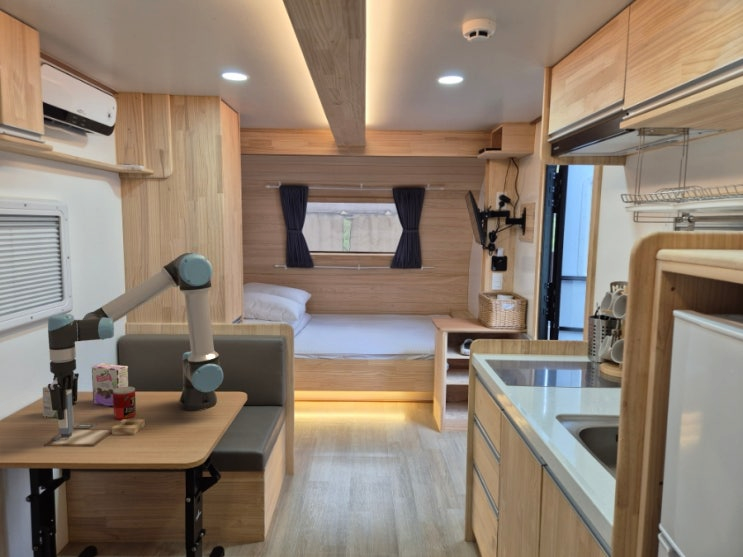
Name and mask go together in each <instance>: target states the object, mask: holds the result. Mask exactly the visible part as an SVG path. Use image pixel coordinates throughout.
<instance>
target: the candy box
mask: <svg viewBox="0 0 743 557" xmlns="http://www.w3.org/2000/svg"><path fill="white" fill-rule="evenodd" d="M128 368H129V366H128V365H119V364H112V363H104V362H101V363H97V364H96V365H92V366H91V379H92V380H91V382H92V403H93V404H94V405H100V406H104V407H105V406H106V407H111V408H112V407H113V390H114V389H116V388H120V387H129V369H128Z"/></svg>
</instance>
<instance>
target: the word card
mask: <svg viewBox="0 0 743 557" xmlns="http://www.w3.org/2000/svg"><path fill="white" fill-rule="evenodd" d="M95 425H96V423H78V424H76V425H75V426H73V429H92V428H93V427H95Z"/></svg>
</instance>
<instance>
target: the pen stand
mask: <svg viewBox="0 0 743 557" xmlns="http://www.w3.org/2000/svg"><path fill="white" fill-rule="evenodd" d="M145 422H146V421H145V419H143V418H142V419H139V418H137V419H134V418H130V419H123V420H119V422H117V423H116V424H115V425H114V426H112V427H111V430H112V433H111V435H116V436H117V435H118V436H119V435H121V436H125V435H127V436H134V435H136V434H137V433H139V432H140V431H141V430H142V429H143V428H144V427H146V426H145V425H146V424H145Z"/></svg>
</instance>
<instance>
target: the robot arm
mask: <svg viewBox="0 0 743 557" xmlns="http://www.w3.org/2000/svg"><path fill="white" fill-rule="evenodd" d="M212 276H213V265H212V264H211V262H210V261H209V260H208V258H206V257H205V256H203V255H202V254H200V253H199V254H198V253H192V252H185V253H183V254H180V255H179V256H176V258H174V259H173V260H172V261H170V262H168V263H167V264H166V265H164V266H162V267H161V270H160V271H159V272H157V273H155V274H154V275H152V276H151V277H149V278H148V279H145V280H144V281H141V283H139V284H137V285H136V286H134V287H132V288H130V289H129V290H127V291H125V292H124V293H122V294H120V295H119V296H117V297H116V298H114V299H112V300H110V301H108V303H106V304H103V305H102V306H101V307H99V308H97V309H95V310H94V311H91V312H87V313H86V314H85V315H84V317H83V318H82V319H76V318H74V315H73V314H71V313H70V314H68V313H65V314H64V313H62V314H61V313H60V314H53V315H51V316H49V317H48V320H47V336H48V337H47V338H48V349H49V351H48V352H49V361H50V362H49V371H50V373H51V374H53V382H51V383H48V384H47V386H48V388H49V390H50V396H51V403H52V410H53V411H57V412H58V417H57V420H58V424H57V426H58V429H59V428H68V418H67V409H65V399H66V390H67V389H70V390H72V411H73V412H74V406H76V405H77V401H78V389H79V388H78V387H79V385H78V384H79V383H78V382H79V376H80V374H79V373H78V372H77V373H75V372H74V371H75V370H77V359H76V357H77V355H76V354H77V352H76V342H85V341H86V342H87V341H95V340H96V341H99V340H102V341H103V340H107V339H112V338H113V337H114V336H115V325H114V323H116V322H117V321H119V320H121V319H122V318H124V317H126V316H127V315H129V314H131V313H132V312H134V311H135V310H137V309H139V308H140V307H142V306H143V305H146V303H149V302H151V300H153V299H154V298H157V297H158V296H160V295H161V294H163V293H164V292H167V291H168V290H170V289H171V288H177V287H179V291H180V292H181V293H183V295H184V303H185V310H186V319H187V328H188V338H189V345H190V351H186V352H184V353H183V354H182V359H181V361H182V381H183V382H182V385H183V388H182V392H181V394H180V398H179V400H178V403H179V404H178V406H179V408H180V409H181V410H184V411H202V410H205V408H207V409H209V407H210V408H212V407H215V406H216V405H217V404H216V403H218V396H217V394H216V391H215V390H216V389H218V388H219V387H220V386H221V384H222V382H223V381H224V372H223V369H222V367H221V363H220V354H219V353H218V352H217V351H215V346H214V337H213V336H214V335H213V328H212V327H213V326H212V320H211V319H212V317H211V309H210V308H211V307H210V300H209V291H210V290H211V288H212V279H211V278H212ZM215 404H216V405H215ZM201 409H202V410H201ZM74 423H75V422H74V419H73V425H74Z"/></svg>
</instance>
